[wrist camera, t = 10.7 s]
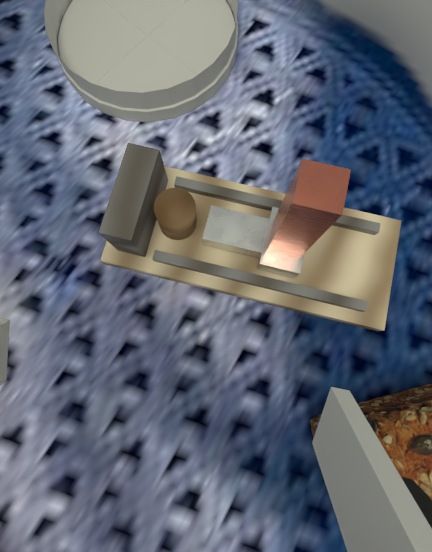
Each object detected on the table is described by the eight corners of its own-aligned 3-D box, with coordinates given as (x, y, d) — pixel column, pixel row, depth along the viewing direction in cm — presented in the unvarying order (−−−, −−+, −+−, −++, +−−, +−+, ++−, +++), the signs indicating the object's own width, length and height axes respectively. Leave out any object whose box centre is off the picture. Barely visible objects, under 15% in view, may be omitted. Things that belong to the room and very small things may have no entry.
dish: (273, 40, 43) (280, 1, 38) (151, 159, 40) (142, 133, 35) (148, -54, 46) (139, -101, 41) (25, 50, 43) (0, 13, 38)
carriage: (200, 255, 35) (189, 200, 22) (214, 203, 36) (212, 119, 23) (294, 278, 35) (344, 237, 21) (305, 224, 36) (360, 151, 22)
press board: (104, 263, 37) (77, 244, 30) (136, 165, 39) (117, 125, 32) (377, 331, 36) (419, 328, 28) (394, 225, 38) (436, 197, 30)
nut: (151, 219, 36) (145, 203, 32) (181, 197, 37) (178, 180, 33) (174, 247, 36) (170, 235, 32) (204, 225, 36) (204, 210, 32)
